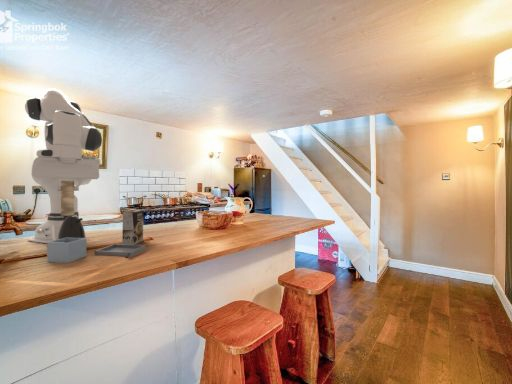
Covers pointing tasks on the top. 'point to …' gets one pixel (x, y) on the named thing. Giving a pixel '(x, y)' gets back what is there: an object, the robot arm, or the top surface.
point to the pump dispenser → (71, 228)
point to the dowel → (67, 198)
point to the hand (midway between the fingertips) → (67, 190)
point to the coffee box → (132, 227)
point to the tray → (121, 250)
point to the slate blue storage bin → (66, 249)
